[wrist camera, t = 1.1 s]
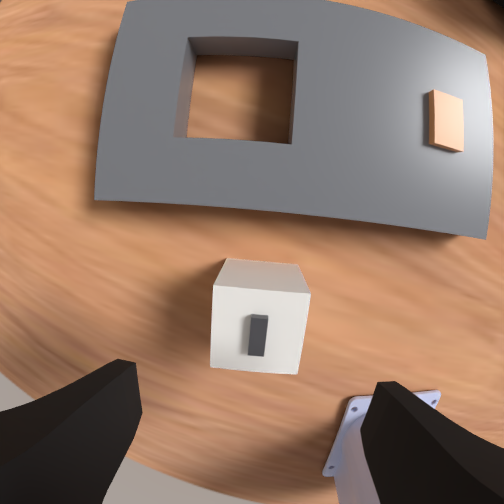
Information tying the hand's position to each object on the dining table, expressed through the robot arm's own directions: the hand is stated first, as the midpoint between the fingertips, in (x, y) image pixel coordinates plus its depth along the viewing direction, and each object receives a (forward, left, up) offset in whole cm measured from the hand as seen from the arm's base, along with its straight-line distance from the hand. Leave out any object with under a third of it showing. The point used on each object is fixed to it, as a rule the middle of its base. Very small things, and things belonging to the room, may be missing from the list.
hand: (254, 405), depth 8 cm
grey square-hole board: (+11, -2, -10) cm, 15 cm away
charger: (0, 0, -10) cm, 10 cm away
